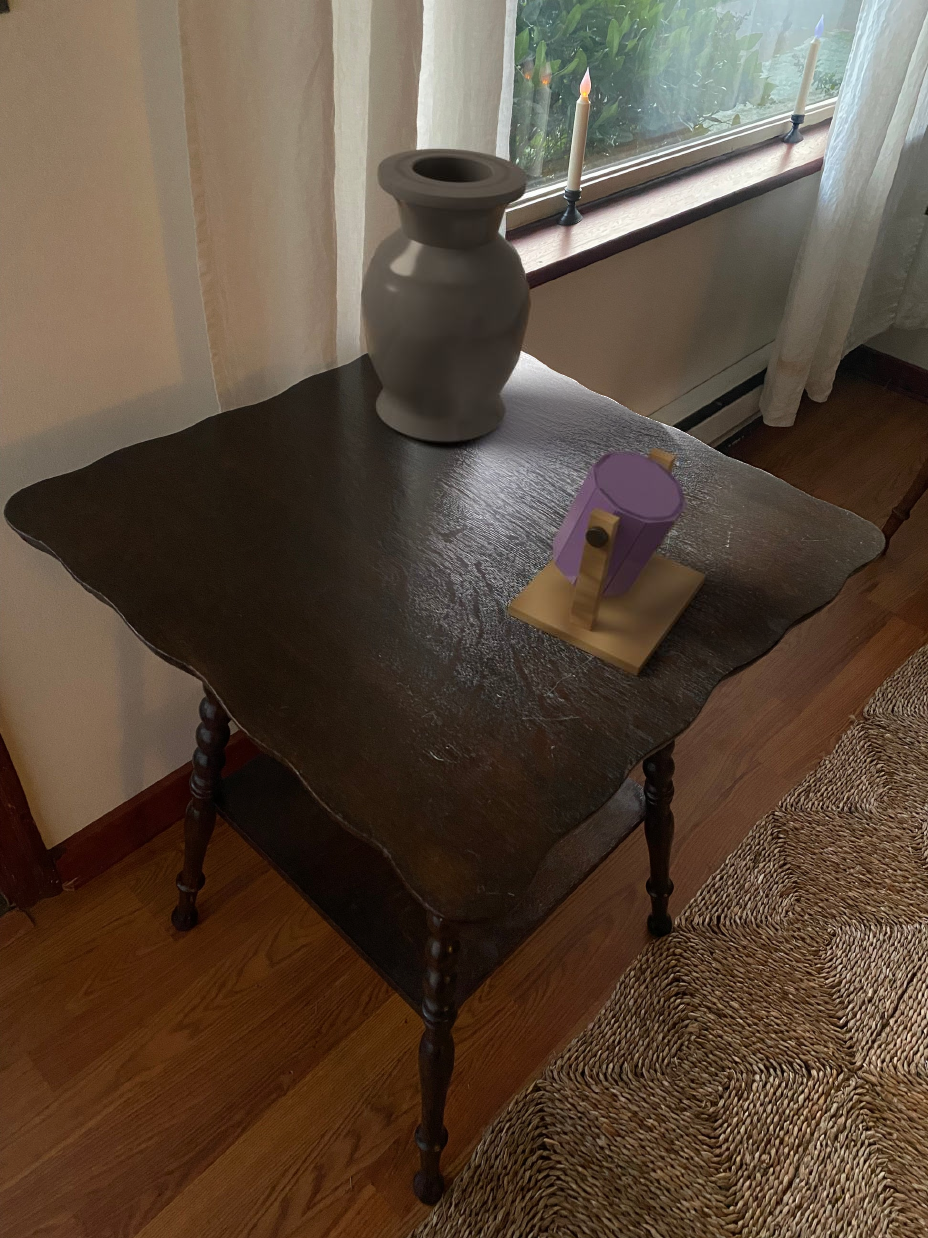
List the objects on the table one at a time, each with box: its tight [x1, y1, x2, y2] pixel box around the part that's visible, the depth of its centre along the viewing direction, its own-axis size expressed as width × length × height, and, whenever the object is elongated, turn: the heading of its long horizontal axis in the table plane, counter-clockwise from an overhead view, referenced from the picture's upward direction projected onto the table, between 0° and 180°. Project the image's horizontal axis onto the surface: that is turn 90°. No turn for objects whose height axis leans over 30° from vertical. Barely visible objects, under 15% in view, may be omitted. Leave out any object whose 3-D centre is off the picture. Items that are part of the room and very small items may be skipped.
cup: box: [551, 450, 687, 597], centre depth 72 cm, size 8×9×9 cm
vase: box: [360, 148, 532, 444], centre depth 89 cm, size 17×17×25 cm
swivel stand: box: [507, 447, 707, 677], centre depth 73 cm, size 12×14×12 cm
